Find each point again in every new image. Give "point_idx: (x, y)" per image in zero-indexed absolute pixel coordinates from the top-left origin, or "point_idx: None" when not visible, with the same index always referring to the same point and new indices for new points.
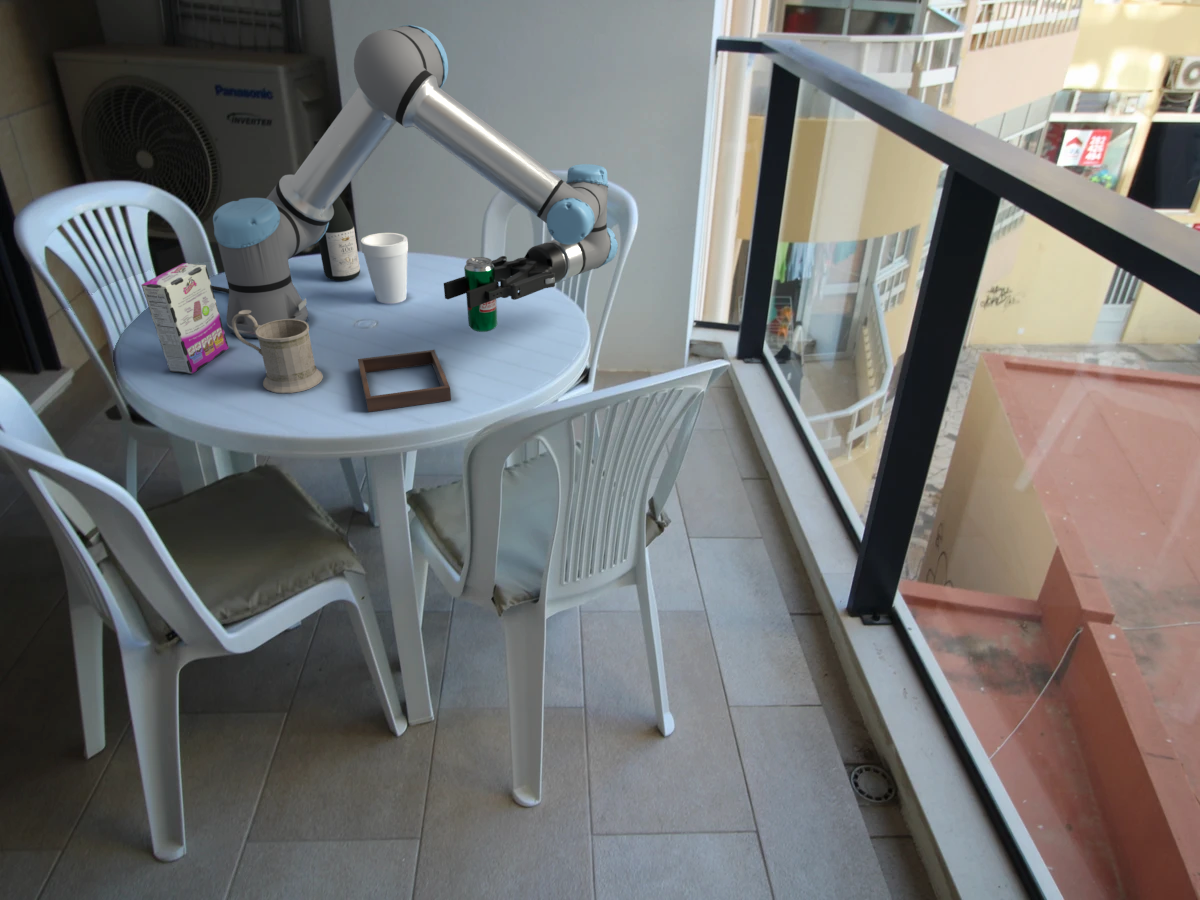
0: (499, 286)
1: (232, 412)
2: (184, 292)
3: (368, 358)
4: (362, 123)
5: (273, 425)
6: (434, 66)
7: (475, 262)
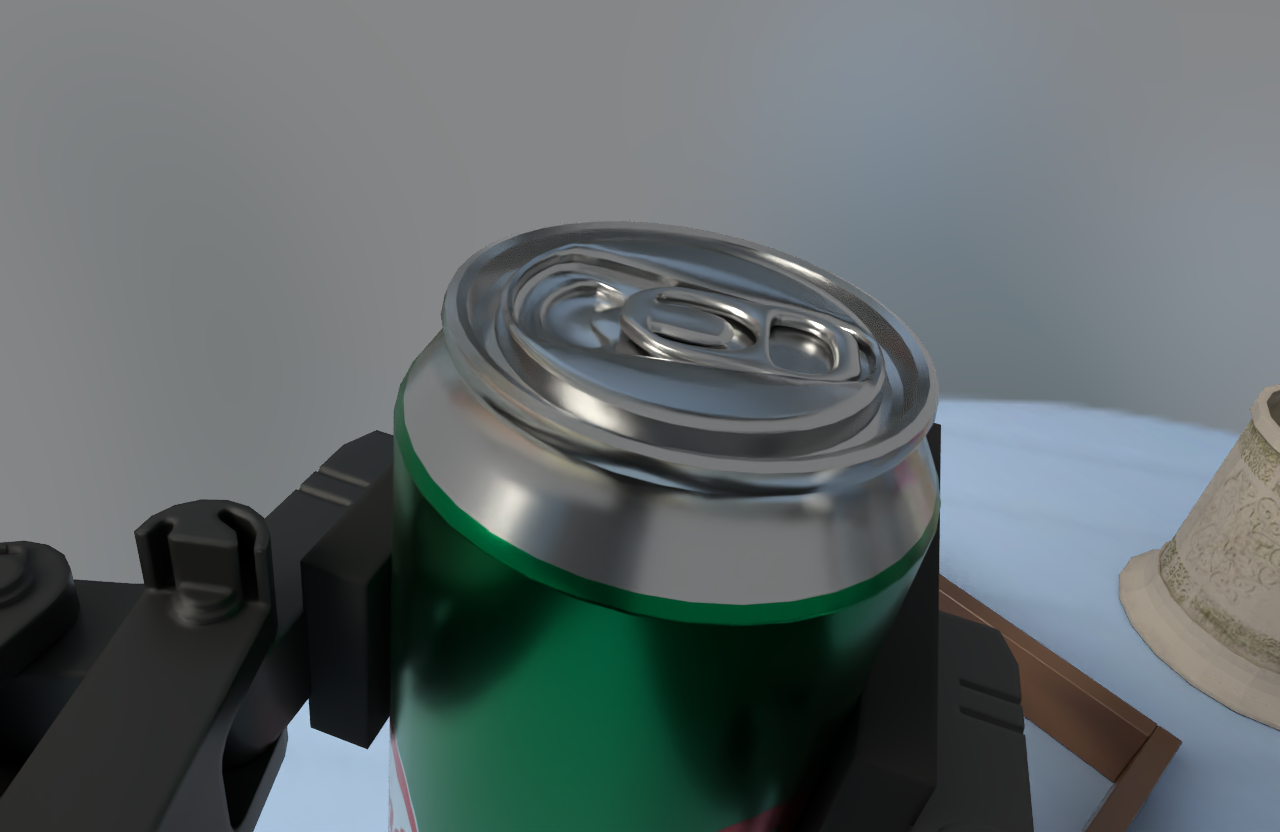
0: (288, 601)
1: (1119, 451)
2: None
3: (1150, 762)
4: None
5: (958, 426)
6: None
7: (704, 275)
